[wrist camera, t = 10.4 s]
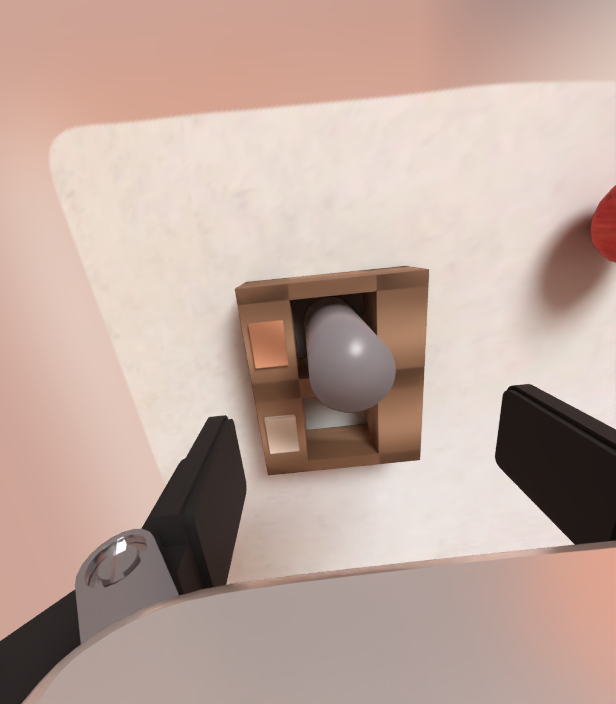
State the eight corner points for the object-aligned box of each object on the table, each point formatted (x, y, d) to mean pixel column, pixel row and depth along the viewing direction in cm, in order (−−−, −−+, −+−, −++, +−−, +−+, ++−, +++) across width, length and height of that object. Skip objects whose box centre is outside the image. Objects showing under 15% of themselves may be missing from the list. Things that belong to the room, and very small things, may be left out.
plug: (355, 344, 23) (395, 408, 14) (307, 349, 23) (313, 416, 14) (353, 294, 22) (396, 328, 12) (302, 300, 22) (305, 337, 12)
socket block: (402, 429, 26) (421, 462, 22) (272, 442, 26) (267, 478, 22) (405, 265, 21) (431, 269, 17) (245, 282, 21) (233, 289, 17)
